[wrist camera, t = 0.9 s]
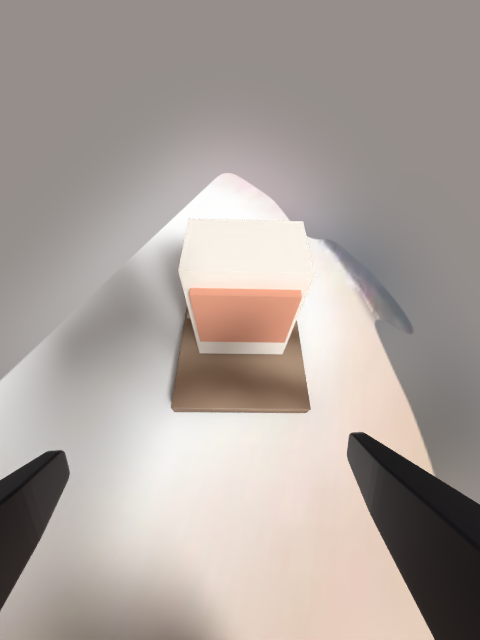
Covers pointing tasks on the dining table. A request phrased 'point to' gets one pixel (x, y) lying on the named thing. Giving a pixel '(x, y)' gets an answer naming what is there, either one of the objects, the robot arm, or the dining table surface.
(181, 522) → the dining table surface
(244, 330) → the block
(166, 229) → the dining table surface
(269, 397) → the board
